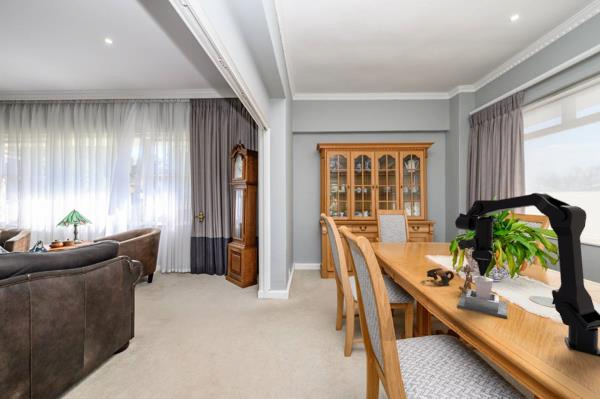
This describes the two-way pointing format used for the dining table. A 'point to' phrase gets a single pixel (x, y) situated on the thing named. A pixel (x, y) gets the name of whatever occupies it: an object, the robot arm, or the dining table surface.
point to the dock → (483, 304)
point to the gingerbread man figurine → (467, 279)
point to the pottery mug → (442, 274)
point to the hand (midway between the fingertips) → (482, 273)
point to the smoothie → (483, 286)
